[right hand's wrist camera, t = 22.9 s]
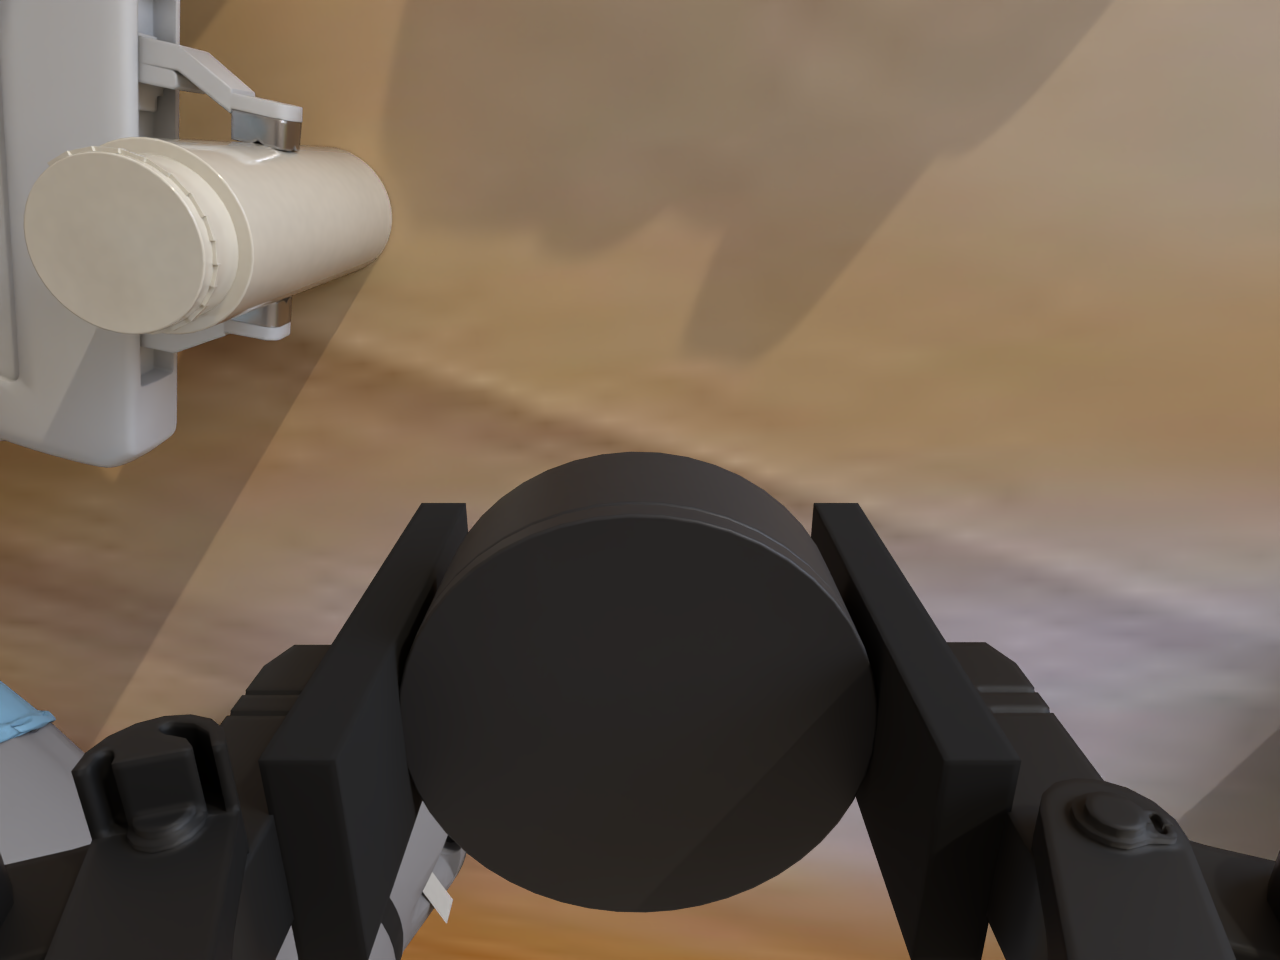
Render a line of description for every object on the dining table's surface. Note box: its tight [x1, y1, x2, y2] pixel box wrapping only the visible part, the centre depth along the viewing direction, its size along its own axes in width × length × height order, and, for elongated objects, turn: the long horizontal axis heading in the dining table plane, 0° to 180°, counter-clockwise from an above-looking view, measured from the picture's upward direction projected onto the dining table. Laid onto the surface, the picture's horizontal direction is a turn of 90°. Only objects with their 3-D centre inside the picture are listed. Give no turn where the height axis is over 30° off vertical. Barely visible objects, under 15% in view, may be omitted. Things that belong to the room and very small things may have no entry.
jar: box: [24, 137, 392, 335], centre depth 29 cm, size 5×5×16 cm
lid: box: [399, 452, 877, 912], centre depth 11 cm, size 6×6×2 cm
